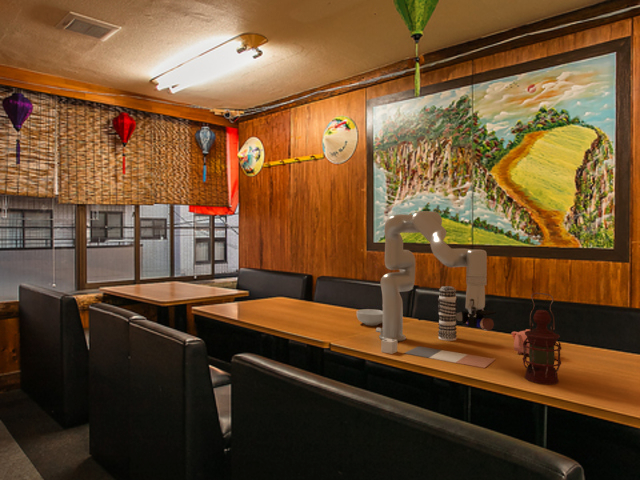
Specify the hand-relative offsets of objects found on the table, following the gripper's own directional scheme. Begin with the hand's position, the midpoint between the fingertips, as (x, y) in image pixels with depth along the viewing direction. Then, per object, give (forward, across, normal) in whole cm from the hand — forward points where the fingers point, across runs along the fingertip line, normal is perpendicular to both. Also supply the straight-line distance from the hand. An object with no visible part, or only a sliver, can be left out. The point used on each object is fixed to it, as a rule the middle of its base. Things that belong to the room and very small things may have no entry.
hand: (476, 325), depth 173 cm
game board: (+14, 0, -11) cm, 18 cm away
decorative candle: (+15, -30, -23) cm, 41 cm away
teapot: (+15, -25, +14) cm, 32 cm away
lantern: (+15, +8, +25) cm, 30 cm away
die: (+15, +8, -34) cm, 38 cm away
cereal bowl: (+15, -37, -69) cm, 80 cm away
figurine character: (+1, 0, 0) cm, 1 cm away
